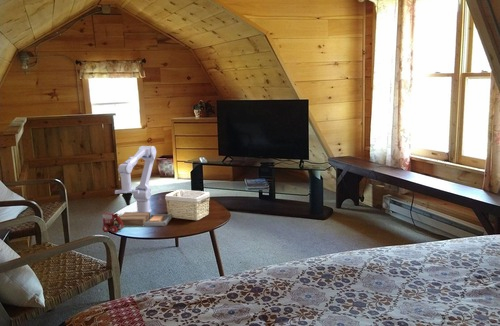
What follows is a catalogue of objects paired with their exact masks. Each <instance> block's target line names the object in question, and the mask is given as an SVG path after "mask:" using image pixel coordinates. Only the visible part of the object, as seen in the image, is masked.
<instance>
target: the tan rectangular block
mask: <svg viewBox="0 0 500 326" xmlns="http://www.w3.org/2000/svg"><path fill="white" fill-rule="evenodd" d="M163 219H164V216H153V217H152V218H151V219H150V220H149V222H161V221H162V220H163Z"/></svg>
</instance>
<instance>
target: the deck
mask: <svg viewBox="0 0 500 326" xmlns="http://www.w3.org/2000/svg"><path fill="white" fill-rule="evenodd" d="M119 217H120V218H121V220H122V222H123V227H145V226H144V222H147V221H148V220H149V219H150V218H151V212H138V211H135V212H134V211H133V212H132V211H129V212H126V211H125V212H124V213H122V215H120V216H119Z"/></svg>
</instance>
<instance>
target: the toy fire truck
mask: <svg viewBox="0 0 500 326" xmlns="http://www.w3.org/2000/svg"><path fill="white" fill-rule="evenodd" d="M101 218H102V222H103V223H102V224H103V226H102V232H103V233H108V232H111V233H112V234H115V233H116V234H117V232H118V231H120V230H123V229H124V226H123V222H122V220H121V218H120V216H119V215H118V213H109V212H103V213H102V214H101Z"/></svg>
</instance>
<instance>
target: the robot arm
mask: <svg viewBox="0 0 500 326" xmlns="http://www.w3.org/2000/svg"><path fill="white" fill-rule="evenodd" d="M156 156H157V149H156V146H154V145H152V146H151V145H149V146H147V145H141V146H139V147H138V149H137V152H135V154H134V155H133V156H129V157H128V159H126V160H125V161H124V162H123V163H121V164H119V165H118V168H117V171H118V173H119V176H120V183H121V185H120V186H121V189H116V190H114V194H115V195H118V194H119V195H121V197H122V198H123V200H124V201H125V205H126V206H130V205H131V199H132V197H133V199H134V200H135V201H136V209H137V211H136V212H150V213H151V212H152V211H153V209H151V202H150V198H151V196H152V195H151V194H152V193H151V192H152V190H151V187H149V183H150V179H151V175H152V170H153V166H154V162H155V159H156ZM140 159H142V160H144V166H143V169H142V172H141V177H140V180H139V184H137V185H136V186H135V189H133V188H132V177H131V173H132V171H133V169H134V167H135V166H137V164H138V161H139V160H140Z"/></svg>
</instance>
